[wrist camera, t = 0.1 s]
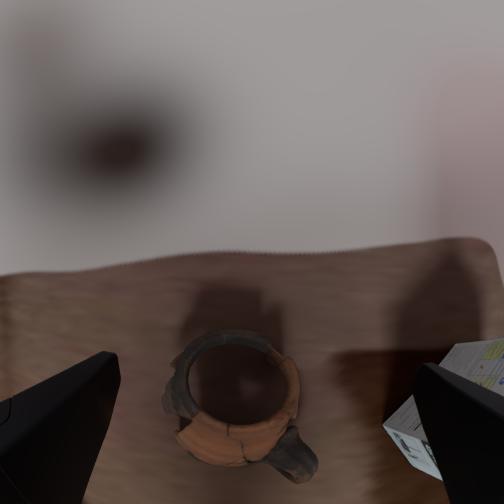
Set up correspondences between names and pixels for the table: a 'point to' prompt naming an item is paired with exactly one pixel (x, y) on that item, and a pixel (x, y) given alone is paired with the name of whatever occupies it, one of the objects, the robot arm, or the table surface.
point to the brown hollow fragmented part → (241, 436)
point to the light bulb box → (463, 364)
